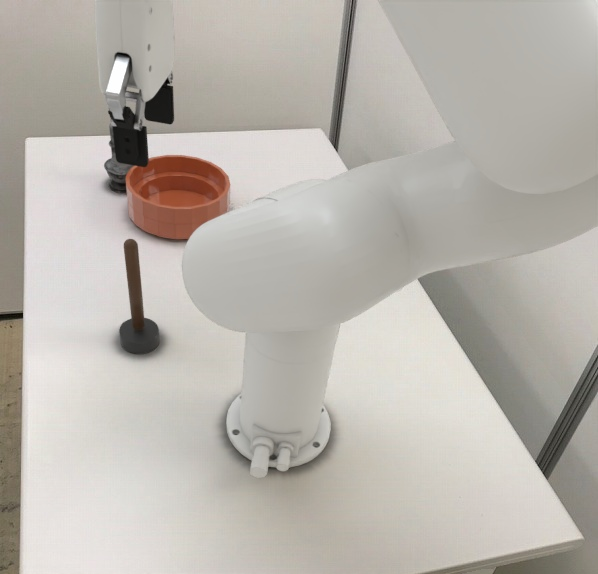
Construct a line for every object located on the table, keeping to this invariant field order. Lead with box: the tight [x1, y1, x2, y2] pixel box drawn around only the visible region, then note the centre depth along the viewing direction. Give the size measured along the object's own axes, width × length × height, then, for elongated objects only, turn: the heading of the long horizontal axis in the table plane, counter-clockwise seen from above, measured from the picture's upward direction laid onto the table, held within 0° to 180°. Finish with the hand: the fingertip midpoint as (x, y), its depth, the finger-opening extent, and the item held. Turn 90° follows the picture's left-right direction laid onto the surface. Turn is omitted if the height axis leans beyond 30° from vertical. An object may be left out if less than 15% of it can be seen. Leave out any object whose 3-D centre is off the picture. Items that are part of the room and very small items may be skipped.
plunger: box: [118, 238, 160, 355], centre depth 79 cm, size 5×5×16 cm
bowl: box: [126, 154, 231, 240], centre depth 104 cm, size 16×16×6 cm
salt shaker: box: [103, 122, 134, 194], centre depth 105 cm, size 6×6×12 cm
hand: (146, 141), depth 68 cm, fingers open, 9 cm apart
